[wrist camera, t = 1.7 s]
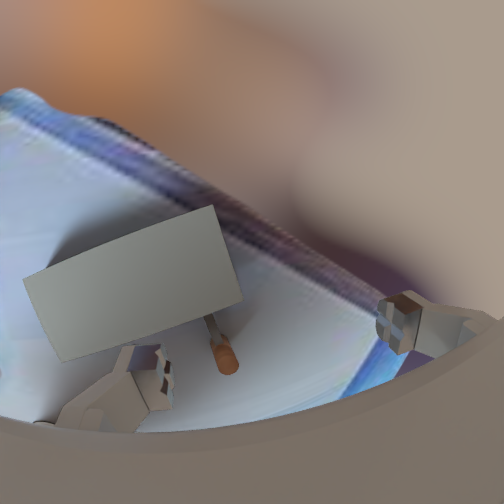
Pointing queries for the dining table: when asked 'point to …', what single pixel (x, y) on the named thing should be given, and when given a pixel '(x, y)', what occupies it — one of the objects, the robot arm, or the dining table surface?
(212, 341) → the toy hammer
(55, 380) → the dining table surface
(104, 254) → the shelf
